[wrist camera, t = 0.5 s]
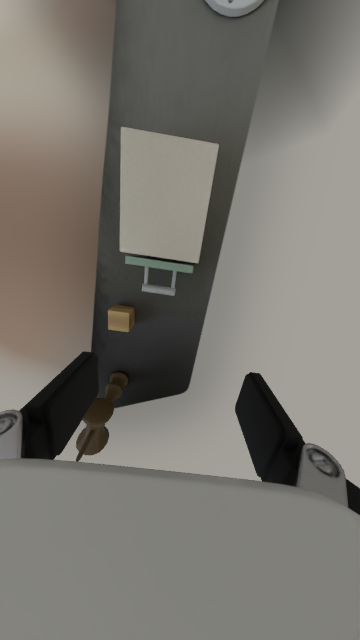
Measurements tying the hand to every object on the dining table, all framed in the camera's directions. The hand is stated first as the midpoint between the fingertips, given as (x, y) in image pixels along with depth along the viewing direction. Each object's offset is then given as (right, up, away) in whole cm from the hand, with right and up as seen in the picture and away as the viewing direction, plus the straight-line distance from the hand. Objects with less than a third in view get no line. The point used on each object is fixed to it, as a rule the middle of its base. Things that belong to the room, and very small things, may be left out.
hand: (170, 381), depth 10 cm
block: (-12, +5, +29) cm, 32 cm away
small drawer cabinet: (-1, +23, +21) cm, 32 cm away
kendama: (-16, -12, +36) cm, 41 cm away
